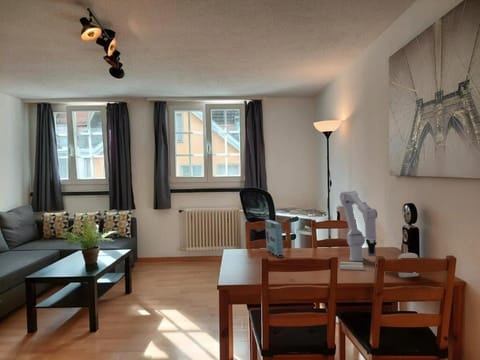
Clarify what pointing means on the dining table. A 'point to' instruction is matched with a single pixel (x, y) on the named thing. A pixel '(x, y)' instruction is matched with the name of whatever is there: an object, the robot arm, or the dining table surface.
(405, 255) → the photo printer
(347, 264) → the channel
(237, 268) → the dining table surface
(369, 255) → the slate block
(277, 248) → the gum box
